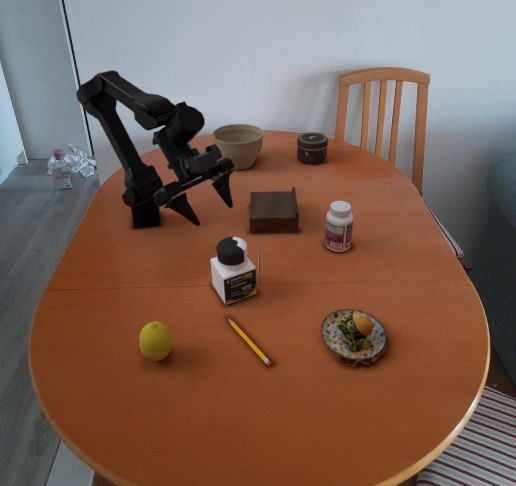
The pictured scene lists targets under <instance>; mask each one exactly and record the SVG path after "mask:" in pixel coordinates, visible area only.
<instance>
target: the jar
mask: <svg viewBox="0 0 516 486" xmlns="http://www.w3.org/2000/svg"><path fill="white" fill-rule="evenodd" d="M296 139H297V140H296V155H297V159H298V160H299V162H301V163H303V164H305V165H320V164H322V163H324V162H325V161H326V158H327V156H328V146H329V138H328V136H327V135H326V134H323V133H321V132H315V131H314V132H313V131H312V132H311V131H310V132H309V131H307V132H304V133H301V134H299V135H298V136H297V138H296Z"/></svg>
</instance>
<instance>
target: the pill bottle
mask: <svg viewBox="0 0 516 486" xmlns="http://www.w3.org/2000/svg"><path fill="white" fill-rule="evenodd" d="M325 216H326V217H325V218H326V219H325V235H324V236H325V237H324V244H325V246H326V248H327V249H329V250H330V251H332V252H335V253H342V252H346V251H348V250H349V249H350V248H351V246H352V241H353V240H352V239H353V227H354V226H353V225H354V215H353V213H352V205H351V204H350V203H349V202H347V201H346V200H345V201H344V200H335V201H333V202H331V203H330V205H329V211H328V212H327V213H326V215H325Z"/></svg>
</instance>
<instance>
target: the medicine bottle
mask: <svg viewBox="0 0 516 486" xmlns="http://www.w3.org/2000/svg"><path fill="white" fill-rule="evenodd" d="M210 271H211V283H212V286H213V288H214V290H215V291H216V292H217V294H218V295H219V297H220V299H221V300H222V302H223V303H224V305H226V306H227V305H229V304H232V303H235V302H238V301H241V300H243V299H247V298H248V297H251V296H254V295H256V294H257V268H256V266H255V264H254V263H253V262H252V260H251V259H250V258H249V257H248V243H247V241H246V240H244V239H243V238H241V237H240V236H239V237H238V236H227V237H224V238H222V239H220V241H218V242H217V244H216V256H215V257H211V258H210Z"/></svg>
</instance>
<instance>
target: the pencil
mask: <svg viewBox="0 0 516 486" xmlns="http://www.w3.org/2000/svg"><path fill="white" fill-rule="evenodd" d="M227 319H228V321H229V324H230V326H231V327H233V329H234V330H235V331H236V332H237V333H238V334H239V336H241V337H242V339H243V340H244V341H245V342H246V343H247V345H249V346H250V347H251V348H252V350H253V351H254V352H255V353H256V354H257V356H259V357H260V359H261V360H262V361H263V362H264V363H265V364H266V365H267V367H269V366H272V362H271V361H270V360H269V358H268V357H266V355H265V354H264V353H263V352H262V351H261V350H260V349H259V348H258V347H257V345H256V344H255V343H254V342H253V341H252V340H251V338H249V337H248V336H247V335H246V334H245V332H244V331H243V330H242V329H241V328H240V327H239V326H238V325H237V323H236V322H235V321H233V320H231V319H230V318H227Z"/></svg>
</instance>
